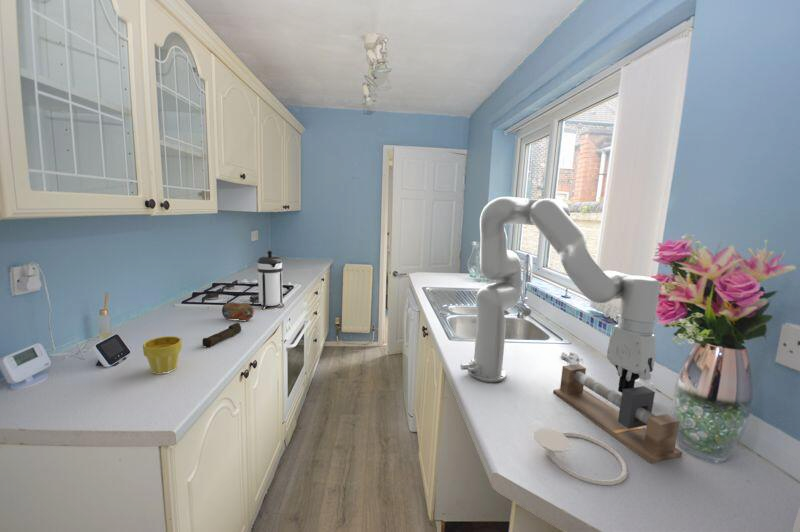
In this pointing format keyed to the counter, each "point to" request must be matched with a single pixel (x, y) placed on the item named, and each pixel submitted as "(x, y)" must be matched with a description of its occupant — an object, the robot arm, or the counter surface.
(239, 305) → the tin
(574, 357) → the adjustable wrench
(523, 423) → the counter surface
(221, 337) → the hand tool
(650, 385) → the salt shaker
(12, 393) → the counter surface
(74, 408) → the counter surface
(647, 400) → the collar
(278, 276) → the coffee press
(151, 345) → the plant pot
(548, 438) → the hand towel holder
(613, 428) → the pipe stand
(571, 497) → the counter surface
